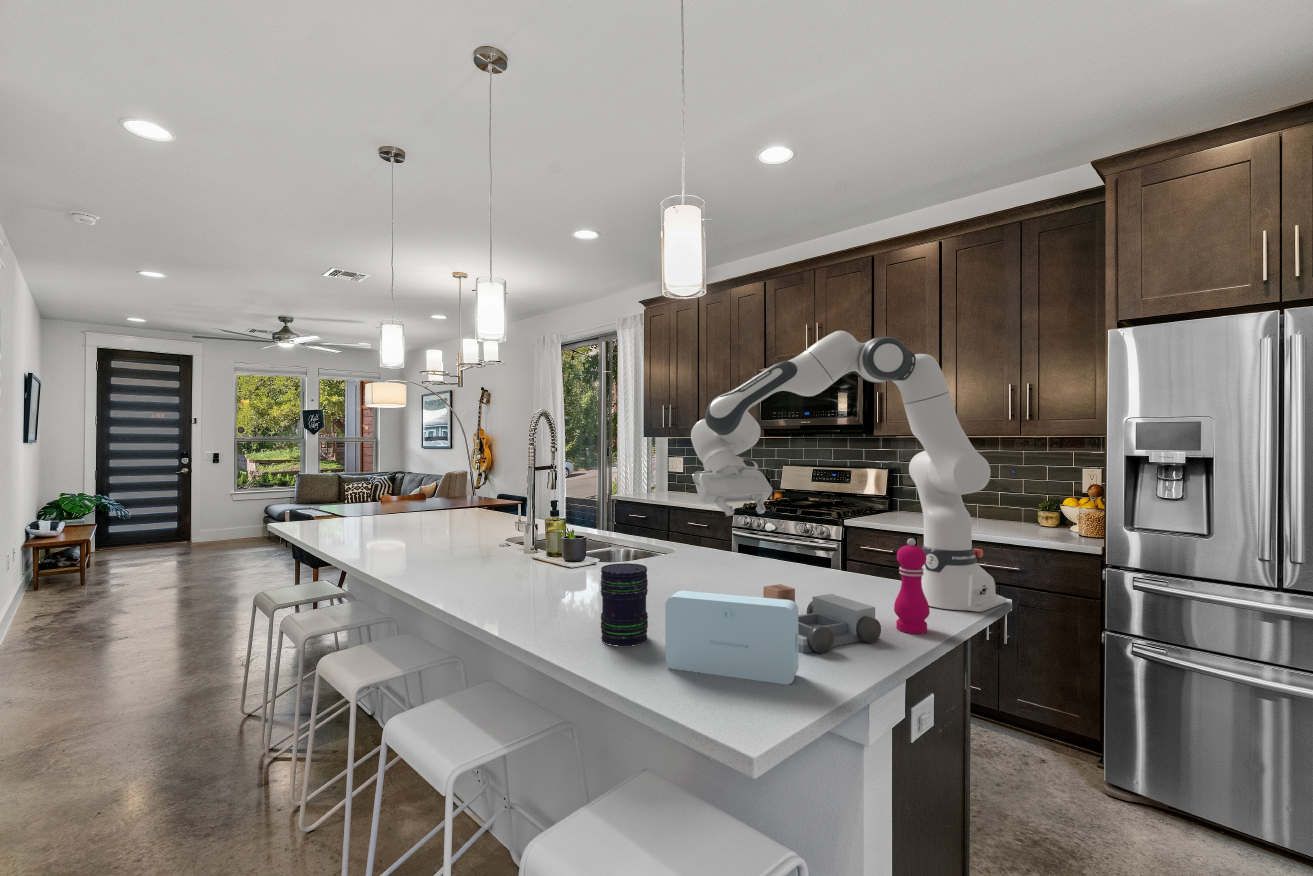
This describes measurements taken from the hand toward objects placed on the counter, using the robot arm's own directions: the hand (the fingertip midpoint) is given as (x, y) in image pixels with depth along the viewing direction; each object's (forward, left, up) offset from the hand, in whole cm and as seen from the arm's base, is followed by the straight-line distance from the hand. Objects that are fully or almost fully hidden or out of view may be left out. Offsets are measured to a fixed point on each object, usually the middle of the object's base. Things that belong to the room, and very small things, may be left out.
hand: (746, 512), depth 155 cm
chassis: (-1, +24, -24) cm, 34 cm away
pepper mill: (-22, +30, -24) cm, 44 cm away
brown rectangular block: (0, +12, -24) cm, 27 cm away
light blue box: (+27, +32, -24) cm, 48 cm away
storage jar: (+36, +6, -24) cm, 44 cm away
